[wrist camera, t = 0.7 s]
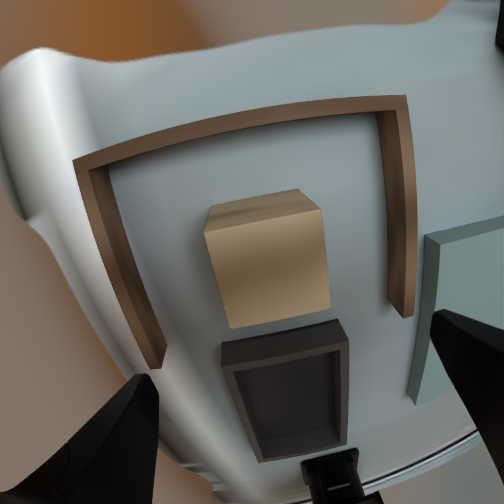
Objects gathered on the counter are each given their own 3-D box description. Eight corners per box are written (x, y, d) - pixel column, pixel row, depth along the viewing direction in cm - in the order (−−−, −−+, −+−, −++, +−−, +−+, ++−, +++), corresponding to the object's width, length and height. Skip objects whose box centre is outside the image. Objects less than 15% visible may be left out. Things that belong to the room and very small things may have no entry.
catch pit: (340, 425, 26) (346, 444, 23) (256, 442, 26) (258, 462, 24) (337, 318, 21) (348, 340, 19) (221, 342, 21) (221, 366, 19)
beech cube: (308, 266, 19) (331, 308, 15) (230, 282, 19) (230, 329, 15) (297, 188, 18) (320, 209, 13) (211, 205, 18) (203, 232, 13)
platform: (494, 352, 25) (504, 362, 23) (407, 391, 25) (415, 405, 23) (523, 210, 19) (538, 217, 17) (424, 234, 19) (440, 244, 17)
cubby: (397, 297, 21) (413, 315, 18) (157, 346, 21) (150, 369, 19) (385, 98, 16) (405, 95, 13) (91, 155, 16) (72, 160, 14)
